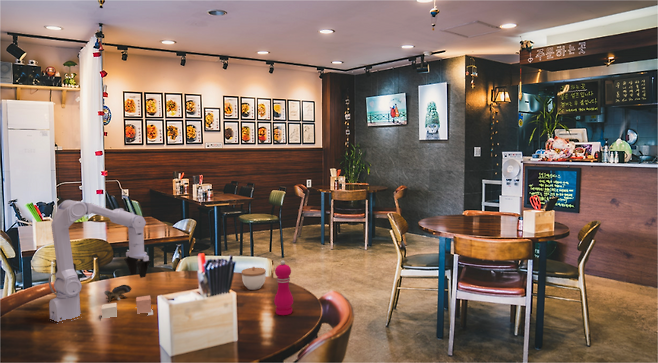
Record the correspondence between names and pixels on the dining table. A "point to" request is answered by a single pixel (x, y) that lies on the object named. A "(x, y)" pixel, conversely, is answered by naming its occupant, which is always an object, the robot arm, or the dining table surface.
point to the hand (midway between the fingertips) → (138, 275)
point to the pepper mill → (283, 290)
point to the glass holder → (55, 278)
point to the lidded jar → (253, 277)
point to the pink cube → (143, 304)
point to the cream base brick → (109, 310)
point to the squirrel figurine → (118, 292)
